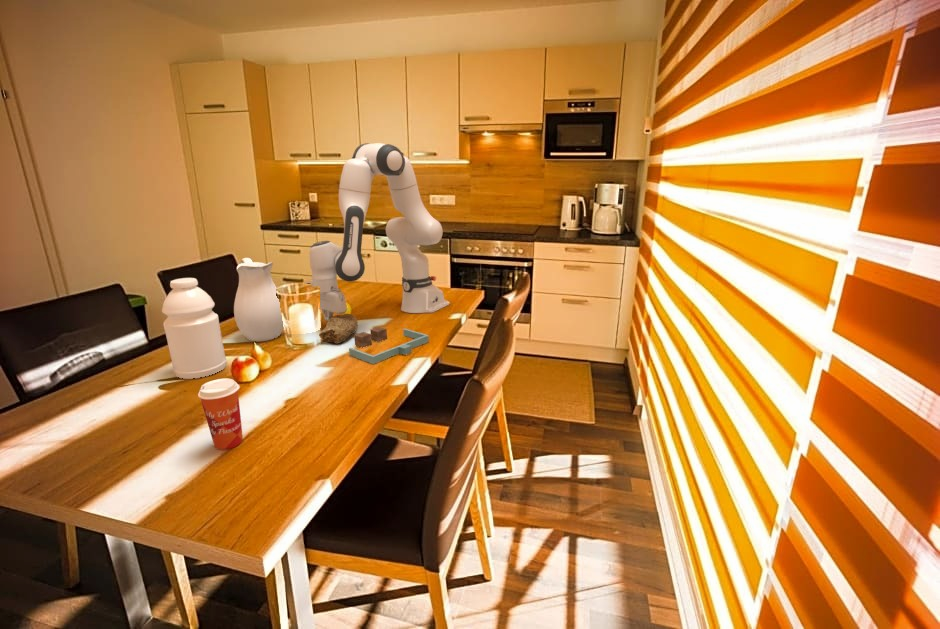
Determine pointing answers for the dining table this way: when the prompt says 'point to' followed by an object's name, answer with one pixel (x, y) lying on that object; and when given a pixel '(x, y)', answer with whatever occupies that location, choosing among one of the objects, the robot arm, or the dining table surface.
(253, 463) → the dining table surface
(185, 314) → the bottle
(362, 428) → the dining table surface
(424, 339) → the grey piece
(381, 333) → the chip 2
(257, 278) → the pitcher
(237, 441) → the paper cup
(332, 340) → the rough brown rock
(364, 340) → the chip
